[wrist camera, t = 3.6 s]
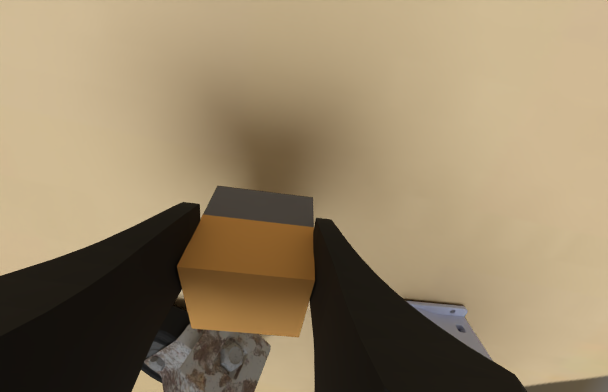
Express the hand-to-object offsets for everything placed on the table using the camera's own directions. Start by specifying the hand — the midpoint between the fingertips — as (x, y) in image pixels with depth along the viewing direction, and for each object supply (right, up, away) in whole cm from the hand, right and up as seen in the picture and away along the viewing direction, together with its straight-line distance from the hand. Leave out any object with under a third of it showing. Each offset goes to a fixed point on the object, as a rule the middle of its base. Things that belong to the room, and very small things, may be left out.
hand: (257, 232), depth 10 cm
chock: (0, -1, +4) cm, 4 cm away
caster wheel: (-9, -12, +16) cm, 22 cm away
